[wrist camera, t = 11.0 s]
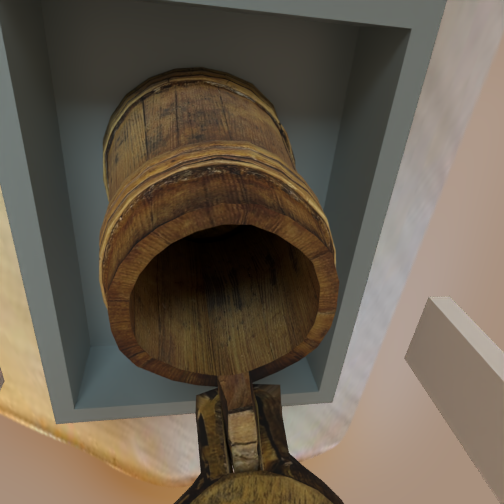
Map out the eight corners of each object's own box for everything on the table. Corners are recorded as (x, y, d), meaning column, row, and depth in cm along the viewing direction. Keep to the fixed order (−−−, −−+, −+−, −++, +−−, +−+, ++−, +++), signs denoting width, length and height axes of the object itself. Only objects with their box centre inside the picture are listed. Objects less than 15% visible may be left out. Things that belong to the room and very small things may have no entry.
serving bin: (13, -44, 15) (-60, -71, 10) (376, 2, 18) (447, -3, 13) (78, 348, 25) (56, 424, 20) (305, 337, 28) (332, 402, 23)
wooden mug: (137, 320, 23) (66, 889, 8) (84, 70, 16) (-1062, 751, 1) (284, 303, 25) (462, 772, 9) (292, 63, 18) (1036, 362, 2)
